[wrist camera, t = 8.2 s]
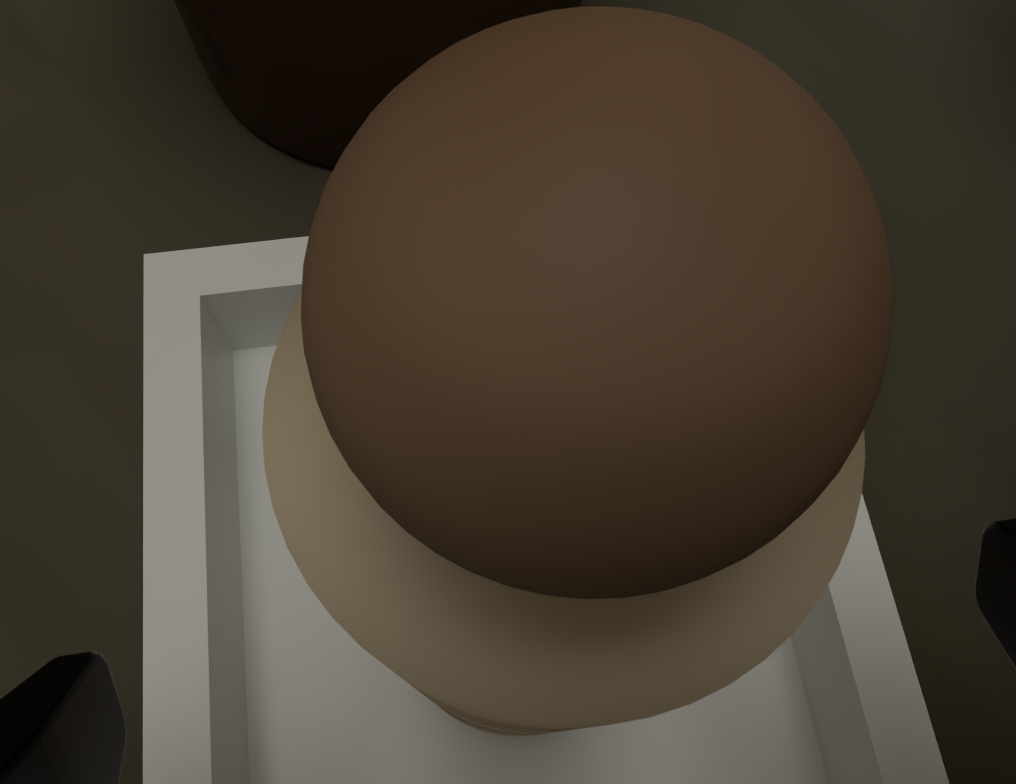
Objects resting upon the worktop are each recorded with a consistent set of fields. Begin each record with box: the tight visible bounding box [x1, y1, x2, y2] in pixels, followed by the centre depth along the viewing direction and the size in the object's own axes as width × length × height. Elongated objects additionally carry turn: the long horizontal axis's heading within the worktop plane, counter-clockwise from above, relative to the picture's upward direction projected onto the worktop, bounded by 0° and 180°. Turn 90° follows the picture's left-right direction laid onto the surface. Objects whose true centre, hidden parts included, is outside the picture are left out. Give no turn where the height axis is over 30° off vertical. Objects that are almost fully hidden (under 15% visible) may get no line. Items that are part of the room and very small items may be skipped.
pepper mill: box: [262, 6, 894, 736], centre depth 10 cm, size 4×4×14 cm
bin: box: [143, 236, 949, 784], centre depth 16 cm, size 14×12×3 cm
